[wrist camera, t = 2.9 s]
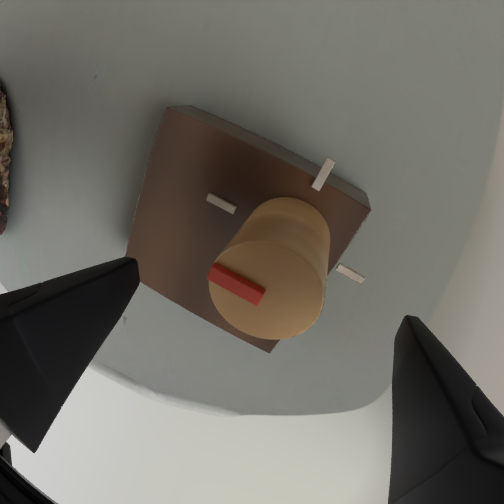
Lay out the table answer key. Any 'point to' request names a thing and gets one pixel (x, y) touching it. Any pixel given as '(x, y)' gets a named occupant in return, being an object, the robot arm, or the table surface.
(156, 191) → the panel
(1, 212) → the cactus
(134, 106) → the table surface
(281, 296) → the knob
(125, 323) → the table surface
